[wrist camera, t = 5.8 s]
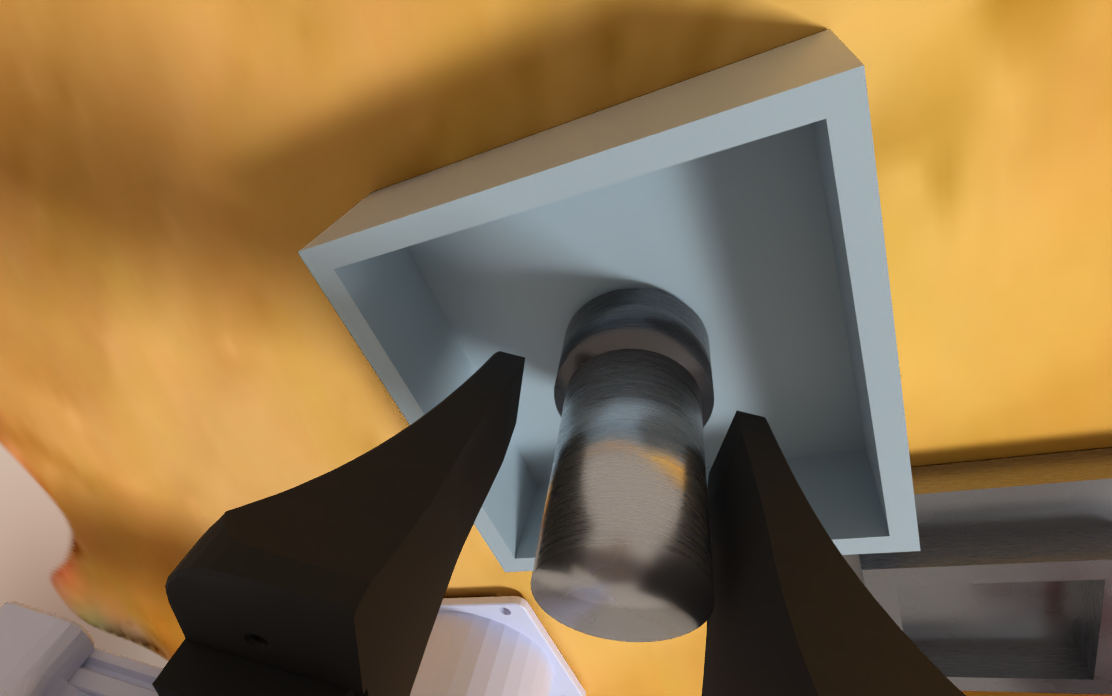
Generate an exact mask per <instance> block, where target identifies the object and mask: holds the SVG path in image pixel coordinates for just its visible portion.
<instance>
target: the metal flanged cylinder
mask: <svg viewBox="0 0 1112 696" xmlns="http://www.w3.org/2000/svg"><path fill="white" fill-rule="evenodd" d="M554 400H555V405H556V408H557V411H558V412H559V414H560V416H561V422H560V427H559V433H558V438H557V443H556V449H555V454H554V460H553V465H552V470H551V476H550V481H549V487H548V492H547V497H546V503H545V508H544V514H543V519H542V524H541V530H540V535H539V541H538V546H537V551H536V557H535V562H534V568H533V573H532V578H531V590H532V594H533V596H534V598H535V600H536V602H537V603H538V604H539V606H540V607H541V608H542V609H543V610H544V611H545V612H546V613H547V614H549V615H550V616H551V617H552V618H554V619H556V620H557V621H559V622H560V623H562V624H564V625H566V626H568V627H570V628H572V629H575V630H577V631H580V632H582V633H585V634H588V635H592V636H596V637H600V638H604V639H610V640H616V641H626V642H652V641H661V640H667V639H672V638H675V637H679V636H682V635H685V634H687V633H690V632H691V631H693V630H695V629H697V628H698V627H700V626H701V625H703V624H704V623H705V622H706V621H707V620H708V618H709V617H710V615H711V614H712V611H713V609H714V587H713V571H712V556H711V541H710V526H709V511H708V496H707V481H706V466H705V451H704V436H703V428H704V426H705V425H706V423H707V422H708V420H709V418H710V416H711V414H712V411H713V407H714V390H713V379H712V368H711V357H710V346H709V337H708V334H707V330H706V328H705V326H704V324H703V322H702V320H701V319H700V317H699V316H698V315H697V314H696V313H695V312H694V311H693V309H692V308H690V307H689V306H688V305H687V304H685V303H684V302H682V301H681V300H679V299H677V298H675V297H673V296H671V295H669V294H666V293H663V292H660V291H656V290H651V289H643V288H626V289H618V290H614V291H610V292H607V293H604V294H601V295H599V296H597V297H595V298H593V299H591V300H590V301H588V302H587V303H586V304H584V305H583V306H582V307H581V308H580V309H579V310H578V311H577V312H576V313H575V314H574V316H573V317H572V319H571V320H570V322H569V324H568V327H567V329H566V333H565V338H564V343H563V348H562V352H561V357H560V362H559V367H558V372H557V376H556V381H555V386H554Z"/></svg>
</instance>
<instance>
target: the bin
mask: <svg viewBox="0 0 1112 696" xmlns="http://www.w3.org/2000/svg"><path fill="white" fill-rule="evenodd" d="M298 254H299V255H300V257H301V258H302V260H303V261H304V263H305V264H306V266H307V268H308V269H309V271H310V272H311V274H312V275H313V277H314V278H315V280H316V281H317V283H318V284H319V286H320V288H321V289H322V291H323V292H324V294H325V295H326V297H327V298H328V300H329V301H330V303H331V304H332V306H333V308H334V309H335V311H336V312H337V314H338V315H339V317H340V318H341V320H342V321H343V323H344V324H345V326H346V328H347V329H348V331H349V332H350V334H351V335H352V337H353V338H354V340H355V341H356V343H357V345H358V346H359V348H360V349H361V351H362V352H363V354H364V355H365V357H366V358H367V360H368V361H369V363H370V365H371V366H372V368H373V369H374V371H375V372H376V374H377V375H378V377H379V378H380V380H381V381H382V383H383V385H384V386H385V388H386V389H387V391H388V392H389V394H390V395H391V397H392V398H393V400H394V401H395V403H396V405H397V406H398V408H399V409H400V411H401V412H402V414H403V415H404V417H405V418H406V420H407V422H408V423H409V425H411V424H413V423H414V422H415V421H417V420H418V419H419V418H421V417H422V416H423V415H425V414H426V413H427V412H429V411H430V410H431V409H433V408H434V407H435V406H437V405H438V404H439V403H440V402H442V401H443V400H444V399H445V398H446V397H448V396H449V395H450V394H451V393H452V392H454V391H455V390H456V389H457V388H458V387H460V386H461V385H462V384H463V383H464V382H465V381H466V380H467V379H469V378H470V377H471V376H472V375H473V374H474V373H475V372H476V371H477V370H478V369H479V368H480V367H481V366H482V365H483V364H484V363H485V362H486V361H487V360H488V359H489V358H490V357H491V356H492V355H493V354H494V353H496V352H498V351H502V352H506V353H510V354H514V355H518V356H522V357H525V364H524V371H523V378H522V385H521V393H520V400H519V407H518V414H517V421H516V425H515V428H514V431H513V434H512V437H511V440H510V443H509V446H508V449H507V452H506V455H505V458H504V461H503V463H502V465H501V467H500V470H499V472H498V474H497V476H496V478H495V480H494V482H493V484H492V486H491V489H490V491H489V493H488V495H487V497H486V499H485V501H484V503H483V505H482V507H481V509H480V511H479V514H478V516H477V518H476V520H475V522H474V525H475V526H476V528H477V529H478V531H479V532H480V534H481V535H482V537H483V539H484V540H485V542H486V543H487V545H488V546H489V548H490V549H491V551H492V552H493V554H494V556H495V557H496V559H497V560H498V562H499V563H500V565H501V566H502V568H503V569H504V571H505V572H518V571H533V568H534V562H535V557H536V551H537V546H538V541H539V535H540V530H541V524H542V519H543V514H544V508H545V503H546V497H547V492H548V487H549V481H550V476H551V470H552V465H553V460H554V454H555V449H556V443H557V438H558V433H559V427H560V422H561V416H560V414H559V412H558V411H557V408H556V405H555V400H554V386H555V381H556V376H557V372H558V367H559V362H560V357H561V352H562V348H563V343H564V338H565V333H566V329H567V327H568V324H569V322H570V320H571V319H572V317H573V316H574V314H575V313H576V312H577V311H578V310H579V309H580V308H581V307H582V306H583V305H584V304H586V303H587V302H588V301H590V300H591V299H593V298H595V297H597V296H599V295H601V294H604V293H607V292H610V291H614V290H618V289H626V288H643V289H651V290H656V291H660V292H663V293H666V294H669V295H671V296H673V297H675V298H677V299H679V300H681V301H682V302H684V303H685V304H687V305H688V306H689V307H690V308H692V309H693V311H694V312H695V313H696V314H697V315H698V316H699V317H700V319H701V320H702V322H703V324H704V326H705V328H706V330H707V334H708V337H709V346H710V357H711V368H712V379H713V390H714V407H713V411H712V414H711V416H710V418H709V420H708V422H707V423H706V425H705V426H704V428H703V436H704V451H705V466H706V481H707V486H708V477H709V472H710V470H711V467H712V465H713V463H714V461H715V458H716V456H717V454H718V452H719V449H720V447H721V445H722V443H723V440H724V438H725V436H726V433H727V431H728V429H729V427H730V424H731V422H732V420H733V418H734V415H735V413H736V411H737V410H738V411H742V412H746V413H750V414H754V415H758V416H762V417H765V418H766V420H767V422H768V423H769V425H770V427H771V430H772V432H773V434H774V436H775V438H776V440H777V442H778V444H779V446H780V448H781V450H782V452H783V454H784V456H785V458H786V460H787V462H788V464H789V466H790V468H791V470H792V472H793V474H794V476H795V478H796V480H797V482H798V484H799V485H800V487H801V489H802V491H803V493H804V494H805V496H806V498H807V500H808V502H809V504H810V505H811V507H812V509H813V510H814V512H815V514H816V515H817V517H818V519H819V520H820V522H821V524H822V525H823V527H824V528H825V530H826V532H827V533H828V535H829V536H830V538H831V540H832V541H833V543H834V544H835V546H836V547H837V549H838V550H839V551H840V553H841V554H842V555H852V554H871V553H891V552H910V551H921V550H920V542H919V533H918V524H917V516H916V507H915V499H914V490H913V481H912V473H911V464H910V456H909V447H908V438H907V430H906V421H905V413H904V404H903V395H902V387H901V378H900V370H899V361H898V352H897V344H896V335H895V327H894V318H893V310H892V301H891V292H890V284H889V275H888V267H887V258H886V249H885V241H884V232H883V224H882V215H881V206H880V198H879V189H878V181H877V172H876V163H875V155H874V146H873V138H872V129H871V120H870V112H869V103H868V95H867V86H866V77H865V69H864V65H863V64H862V62H861V61H860V60H859V59H858V58H857V57H856V56H855V55H854V54H853V53H852V52H851V51H850V50H849V49H848V48H847V47H846V46H845V45H844V43H843V42H842V41H841V40H840V39H839V38H838V37H837V36H836V35H835V34H834V33H833V32H832V31H831V30H830V29H828V30H825V31H822V32H819V33H816V34H814V35H811V36H808V37H805V38H802V39H800V40H797V41H794V42H791V43H788V44H786V45H783V46H780V47H777V48H774V49H772V50H769V51H766V52H763V53H761V54H758V55H755V56H752V57H749V58H747V59H744V60H741V61H738V62H735V63H733V64H730V65H727V66H724V67H721V68H719V69H716V70H713V71H710V72H707V73H705V74H702V75H699V76H696V77H693V78H691V79H688V80H685V81H682V82H679V83H677V84H674V85H671V86H668V87H665V88H663V89H660V90H657V91H654V92H651V93H649V94H646V95H643V96H640V97H637V98H635V99H632V100H629V101H626V102H623V103H621V104H618V105H615V106H612V107H610V108H607V109H604V110H601V111H598V112H596V113H593V114H590V115H587V116H584V117H582V118H579V119H576V120H573V121H570V122H568V123H565V124H562V125H559V126H556V127H554V128H551V129H548V130H545V131H542V132H540V133H537V134H534V135H531V136H528V137H526V138H523V139H520V140H517V141H514V142H512V143H509V144H506V145H503V146H500V147H498V148H495V149H492V150H489V151H486V152H484V153H481V154H478V155H475V156H472V157H470V158H467V159H464V160H461V161H458V162H456V163H453V164H450V165H447V166H445V167H442V168H439V169H436V170H433V171H431V172H428V173H425V174H422V175H419V176H417V177H414V178H411V179H408V180H405V181H403V182H400V183H397V184H394V185H391V186H389V187H386V188H383V189H380V190H377V191H375V192H372V193H370V194H369V195H368V196H366V197H365V198H364V199H363V200H361V201H360V202H359V203H358V204H356V205H355V206H354V207H353V208H351V209H350V210H349V211H348V212H347V213H345V214H344V215H343V216H342V217H340V218H339V219H338V220H337V221H335V222H334V223H333V224H332V225H330V226H329V227H328V228H327V229H325V230H324V231H323V232H322V233H320V234H319V235H318V236H317V237H316V238H314V239H313V240H312V241H311V242H309V243H308V244H307V245H306V246H304V247H303V248H302V249H301V250H299V251H298Z"/></svg>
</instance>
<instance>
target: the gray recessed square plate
mask: <svg viewBox="0 0 1112 696" xmlns="http://www.w3.org/2000/svg"><path fill="white" fill-rule="evenodd" d="M911 473H912V481H913V490H914V499H915V507H916V516H917V524H918V533H919V542H920V550H921V551H910V552H891V553H871V554H852V555H842V556H843V557H844V558H845V560H846V561H847V563H848V564H849V565H850V567H851V568H852V569H853V571H854V572H855V573H856V575H857V576H858V577H859V579H860V580H861V582H862V583H863V584H864V585H865V587H866V588H867V589H868V590H869V592H870V593H871V594H872V595H873V597H874V598H875V599H876V600H877V602H878V603H879V604H880V605H881V606H882V607H883V609H884V610H885V611H886V612H887V613H888V614H889V616H890V617H891V618H892V619H893V620H894V622H895V623H896V624H897V625H898V626H899V627H900V629H901V630H902V631H903V632H904V633H905V634H906V635H907V636H908V637H909V638H910V640H911V641H912V642H913V643H914V644H915V645H916V646H917V647H918V648H919V649H920V650H921V651H922V652H923V653H924V654H925V656H926V657H927V658H928V659H929V660H930V661H931V662H932V663H933V664H934V665H935V666H936V667H937V668H938V669H939V670H940V671H941V672H942V673H943V674H944V675H945V676H946V677H947V678H948V679H949V680H950V681H951V682H952V683H953V684H954V685H955V686H956V687H957V688H958V689H959V690H960V691H994V692H1033V693H1073V694H1112V448H1104V449H1094V450H1084V451H1074V452H1064V453H1053V454H1043V455H1033V456H1023V457H1012V458H1002V459H992V460H982V461H971V462H961V463H951V464H941V465H931V466H920V467H911Z"/></svg>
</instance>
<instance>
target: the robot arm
mask: <svg viewBox="0 0 1112 696" xmlns="http://www.w3.org/2000/svg"><path fill="white" fill-rule="evenodd" d="M524 364H525V357H522V356H518V355H514V354H510V353H506V352H502V351H498V352H496V353H494V354H493V355H492V356H491V357H490V358H489V359H488V360H487V361H486V362H485V363H484V364H483V365H482V366H481V367H480V368H479V369H478V370H477V371H476V372H475V373H474V374H473V375H472V376H471V377H470V378H469V379H467V380H466V381H465V382H464V383H463V384H462V385H461V386H460V387H458V388H457V389H456V390H455V391H454V392H452V393H451V394H450V395H449V396H448V397H446V398H445V399H444V400H443V401H442V402H440V403H439V404H438V405H437V406H435V407H434V408H433V409H431V410H430V411H429V412H427V413H426V414H425V415H423V416H422V417H421V418H419V419H418V420H417V421H415V422H414V423H413V424H411V425H410V426H408V427H407V428H405V429H404V430H402V431H401V432H399V433H398V434H396V435H395V436H393V437H392V438H390V439H388V440H387V441H385V442H384V443H382V444H380V445H379V446H377V447H375V448H374V449H372V450H370V451H368V452H366V453H365V454H363V455H361V456H359V457H357V458H356V459H354V460H352V461H350V462H348V463H346V464H344V465H342V466H340V467H338V468H336V469H334V470H332V471H330V472H328V473H326V474H324V475H321V476H319V477H317V478H315V479H312V480H310V481H308V482H306V483H303V484H301V485H299V486H297V487H294V488H292V489H289V490H287V491H284V492H282V493H279V494H276V495H273V496H270V497H268V498H265V499H262V500H259V501H256V502H253V503H250V504H247V505H244V506H241V507H239V508H235V509H232V510H229V511H226V512H225V513H224V515H223V516H222V517H221V518H220V519H219V520H218V521H217V522H216V523H215V524H213V525H212V526H211V527H210V528H209V529H208V530H207V531H206V533H205V534H204V535H203V536H202V537H201V538H200V539H199V540H198V542H197V543H196V544H195V545H194V546H193V548H192V549H191V550H190V551H189V552H188V554H187V555H186V556H185V557H184V559H183V560H182V561H181V562H180V563H179V565H178V566H177V567H176V568H175V569H174V571H173V572H172V573H171V574H170V575H169V577H168V579H167V583H166V586H165V587H166V593H167V596H168V600H169V603H170V605H171V608H172V610H173V612H174V614H175V616H176V618H177V620H178V623H179V625H180V627H181V629H182V631H183V633H184V635H185V638H186V639H185V640H184V641H183V643H182V644H181V645H180V647H179V648H178V649H177V651H176V652H175V654H174V655H173V656H172V658H171V659H170V660H169V662H168V663H167V664H166V666H165V667H164V668H163V669H162V668H159V667H156V666H153V665H149V664H146V663H143V662H140V661H137V660H134V659H130V658H127V657H124V656H121V655H118V654H115V653H111V652H108V651H105V650H101V649H99V648H95V647H94V642H93V640H92V637H91V636H90V634H89V633H88V632H87V631H86V630H85V629H84V628H83V627H82V626H81V625H79V624H78V623H76V622H74V621H72V620H70V619H68V618H65V617H63V616H59V615H56V614H53V613H50V612H47V611H43V610H40V609H37V608H34V607H31V606H27V605H24V604H21V603H18V602H7V603H5V604H4V605H3V606H2V607H1V608H0V696H586V692H585V690H584V689H583V687H582V686H581V684H580V683H579V681H578V679H577V678H576V676H575V675H574V673H573V672H572V670H571V669H570V667H569V665H568V664H567V662H566V661H565V659H564V658H563V656H562V655H561V653H560V652H559V650H558V648H557V647H556V645H555V644H554V642H553V641H552V639H551V638H550V636H549V635H548V633H547V631H546V630H545V628H544V627H543V625H542V624H541V622H540V621H539V619H538V617H537V616H536V614H535V613H534V611H533V610H532V608H531V607H530V605H529V604H528V602H527V601H526V600H525V599H523V598H521V597H518V596H496V597H467V598H444V595H445V592H446V589H447V587H448V584H449V581H450V578H451V576H452V573H453V570H454V567H455V565H456V562H457V559H458V557H459V555H460V552H461V550H462V548H463V545H464V543H465V541H466V539H467V536H468V534H469V532H470V530H471V528H472V526H473V524H474V522H475V520H476V518H477V516H478V514H479V511H480V509H481V507H482V505H483V503H484V501H485V499H486V497H487V495H488V493H489V491H490V489H491V486H492V484H493V482H494V480H495V478H496V476H497V474H498V472H499V470H500V467H501V465H502V463H503V461H504V458H505V455H506V452H507V449H508V446H509V443H510V440H511V437H512V434H513V431H514V428H515V425H516V421H517V414H518V407H519V400H520V393H521V385H522V378H523V371H524ZM707 496H708V511H709V526H710V541H711V556H712V571H713V587H714V609H713V611H712V614H711V615H710V617H709V618H708V620H707V637H706V650H705V664H704V677H703V688H702V696H966V695H965V694H964V693H963V692H961V691H960V690H959V689H958V688H957V687H956V686H955V685H954V684H953V683H952V682H951V681H950V680H949V679H948V678H947V677H946V676H945V675H944V674H943V673H942V672H941V671H940V670H939V669H938V668H937V667H936V666H935V665H934V664H933V663H932V662H931V661H930V660H929V659H928V658H927V657H926V656H925V654H924V653H923V652H922V651H921V650H920V649H919V648H918V647H917V646H916V645H915V644H914V643H913V642H912V641H911V640H910V638H909V637H908V636H907V635H906V634H905V633H904V632H903V631H902V630H901V629H900V627H899V626H898V625H897V624H896V623H895V622H894V620H893V619H892V618H891V617H890V616H889V614H888V613H887V612H886V611H885V610H884V609H883V607H882V606H881V605H880V604H879V603H878V602H877V600H876V599H875V598H874V597H873V595H872V594H871V593H870V592H869V590H868V589H867V588H866V587H865V585H864V584H863V583H862V582H861V580H860V579H859V577H858V576H857V575H856V573H855V572H854V571H853V569H852V568H851V567H850V565H849V564H848V563H847V561H846V560H845V558H844V557H843V556H842V554H841V553H840V551H839V550H838V549H837V547H836V546H835V544H834V543H833V541H832V540H831V538H830V536H829V535H828V533H827V532H826V530H825V528H824V527H823V525H822V524H821V522H820V520H819V519H818V517H817V515H816V514H815V512H814V510H813V509H812V507H811V505H810V504H809V502H808V500H807V498H806V496H805V494H804V493H803V491H802V489H801V487H800V485H799V484H798V482H797V480H796V478H795V476H794V474H793V472H792V470H791V468H790V466H789V464H788V462H787V460H786V458H785V456H784V454H783V452H782V450H781V448H780V446H779V444H778V442H777V440H776V438H775V436H774V434H773V432H772V430H771V427H770V425H769V423H768V422H767V420H766V418H765V417H762V416H758V415H754V414H750V413H746V412H742V411H738V410H737V411H736V413H735V415H734V418H733V420H732V422H731V424H730V427H729V429H728V431H727V433H726V436H725V438H724V440H723V443H722V445H721V447H720V449H719V452H718V454H717V456H716V458H715V461H714V463H713V465H712V467H711V470H710V472H709V477H708V486H707Z"/></svg>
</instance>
